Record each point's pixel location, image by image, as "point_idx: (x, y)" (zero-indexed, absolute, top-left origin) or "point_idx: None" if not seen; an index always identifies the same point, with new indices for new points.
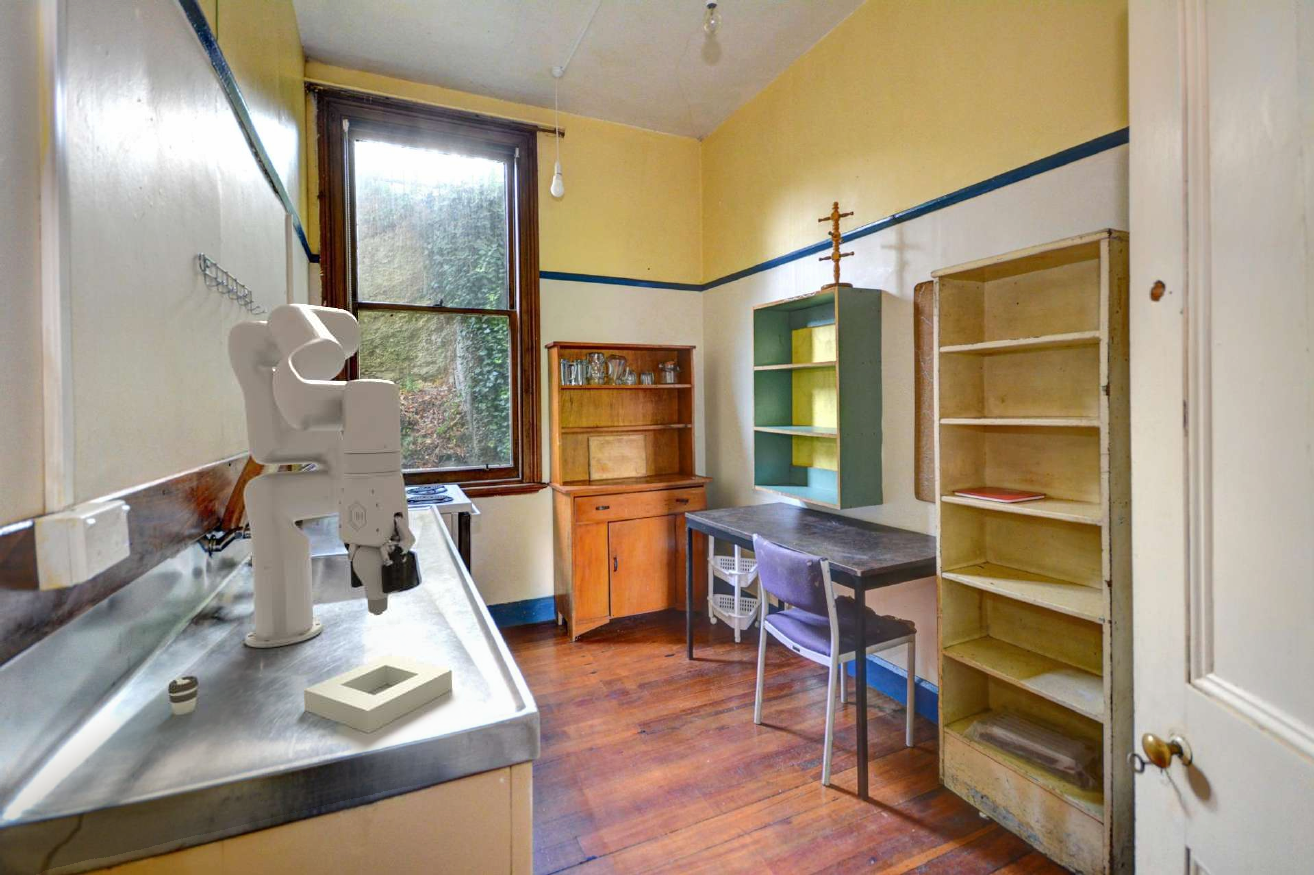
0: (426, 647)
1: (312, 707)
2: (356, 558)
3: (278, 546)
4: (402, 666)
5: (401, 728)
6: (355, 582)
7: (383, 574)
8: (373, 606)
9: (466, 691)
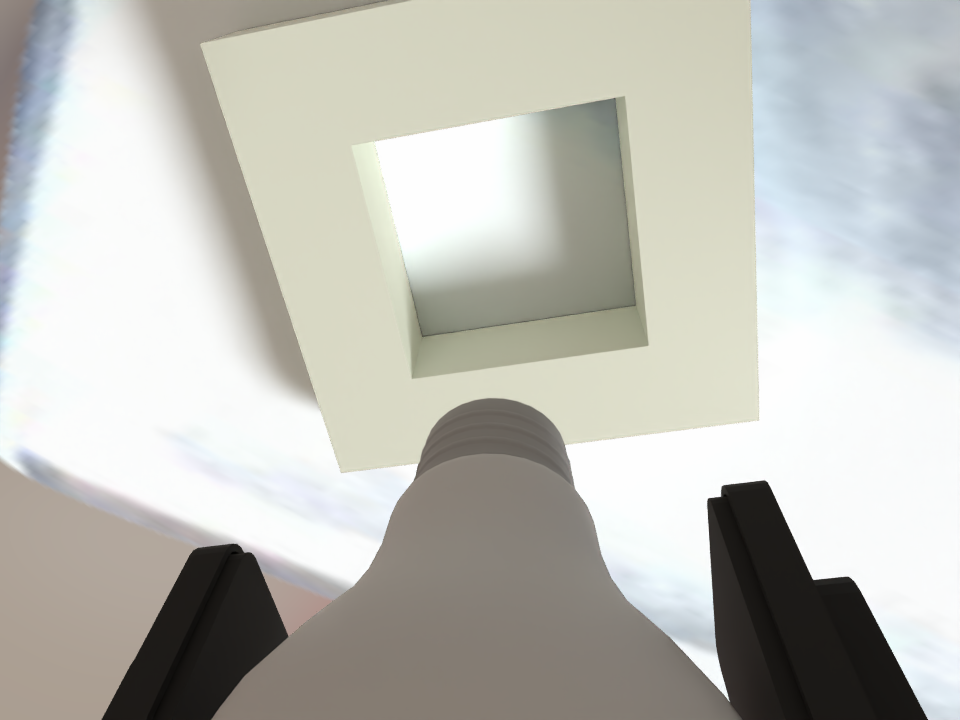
0: (827, 572)
1: None
2: None
3: None
4: (560, 380)
5: (183, 142)
6: (720, 533)
7: (113, 712)
8: (441, 435)
9: (298, 443)
